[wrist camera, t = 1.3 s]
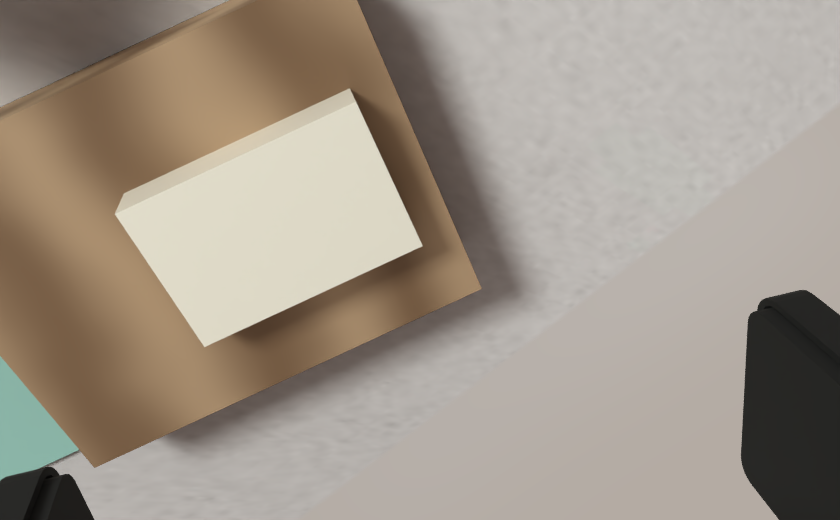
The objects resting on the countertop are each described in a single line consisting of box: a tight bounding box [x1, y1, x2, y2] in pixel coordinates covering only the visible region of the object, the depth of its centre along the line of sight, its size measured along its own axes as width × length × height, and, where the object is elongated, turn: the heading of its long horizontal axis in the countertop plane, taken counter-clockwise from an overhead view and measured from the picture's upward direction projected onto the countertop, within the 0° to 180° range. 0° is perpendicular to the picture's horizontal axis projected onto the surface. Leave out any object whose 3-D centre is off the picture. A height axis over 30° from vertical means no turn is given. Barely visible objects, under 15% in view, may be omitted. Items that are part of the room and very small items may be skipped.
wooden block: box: [0, 0, 482, 468], centre depth 31 cm, size 18×14×4 cm
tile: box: [115, 88, 422, 347], centre depth 28 cm, size 9×6×2 cm, turn 113°
